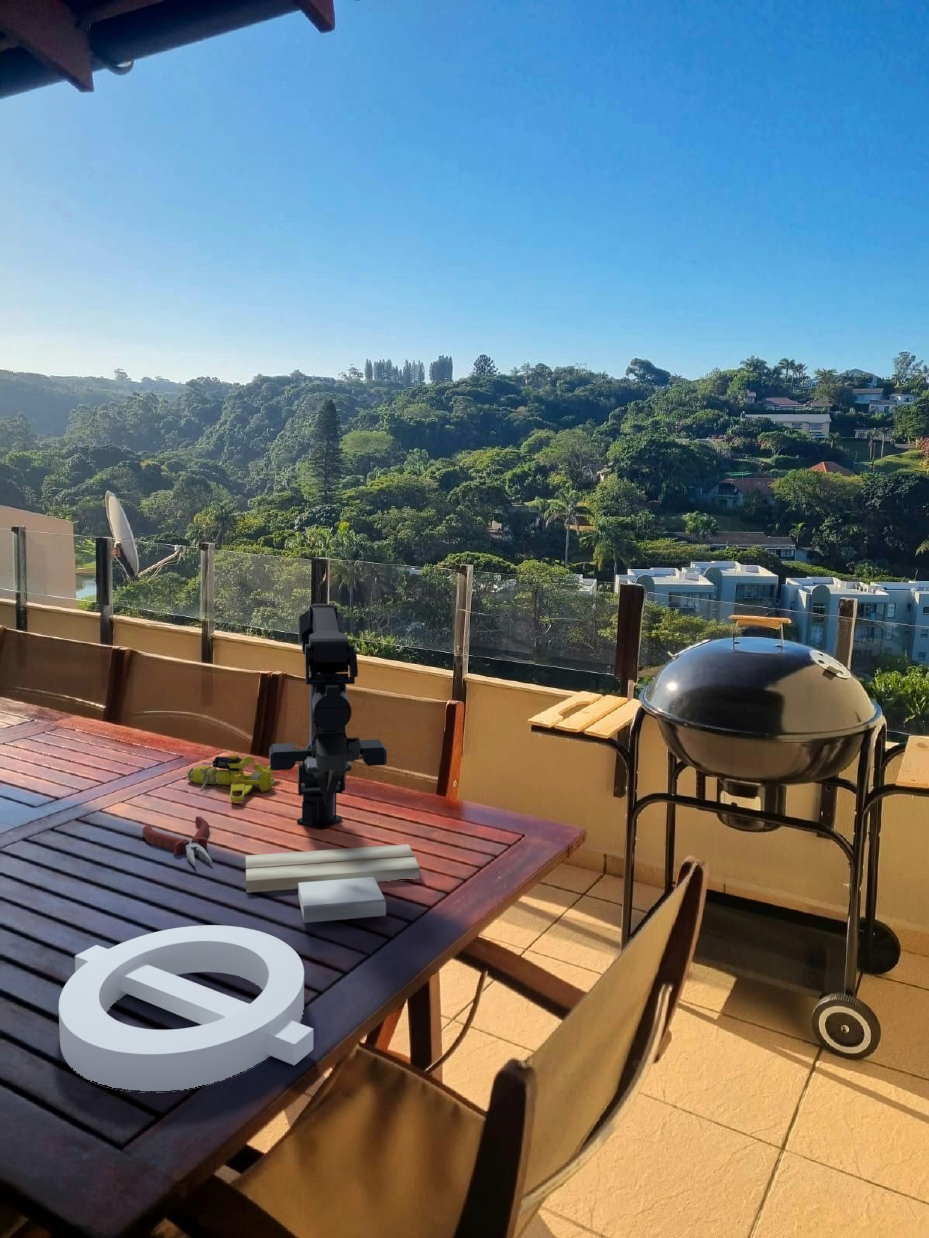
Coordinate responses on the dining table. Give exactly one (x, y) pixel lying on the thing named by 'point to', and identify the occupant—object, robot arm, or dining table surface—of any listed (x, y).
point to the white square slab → (341, 899)
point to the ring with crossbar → (183, 1009)
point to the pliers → (182, 841)
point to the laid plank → (329, 866)
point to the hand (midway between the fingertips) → (327, 803)
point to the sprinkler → (233, 775)
